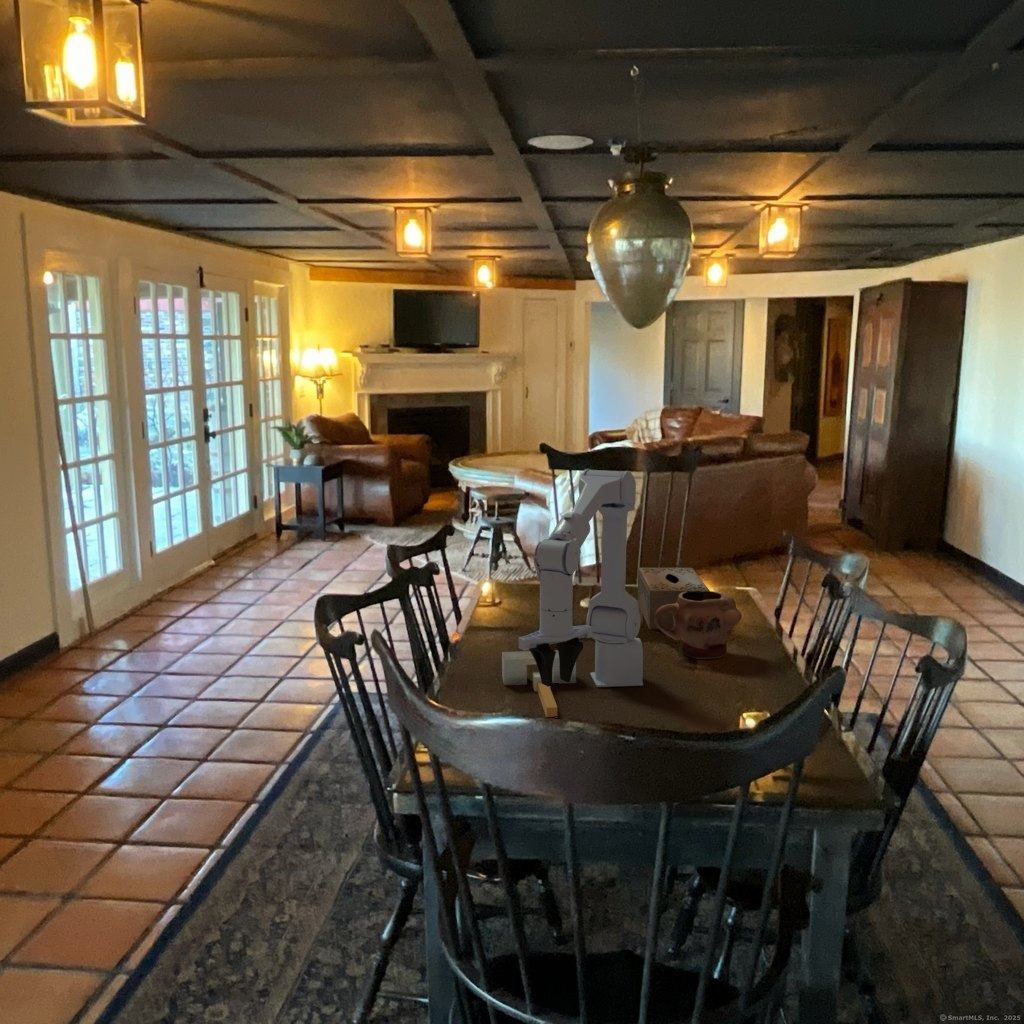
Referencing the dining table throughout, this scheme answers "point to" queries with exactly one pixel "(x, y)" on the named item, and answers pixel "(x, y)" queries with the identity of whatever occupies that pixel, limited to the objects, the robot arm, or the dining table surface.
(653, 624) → the tissue box cover
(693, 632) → the ceramic mug
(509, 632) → the dining table surface
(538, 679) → the wooden stick
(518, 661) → the block
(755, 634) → the dining table surface
